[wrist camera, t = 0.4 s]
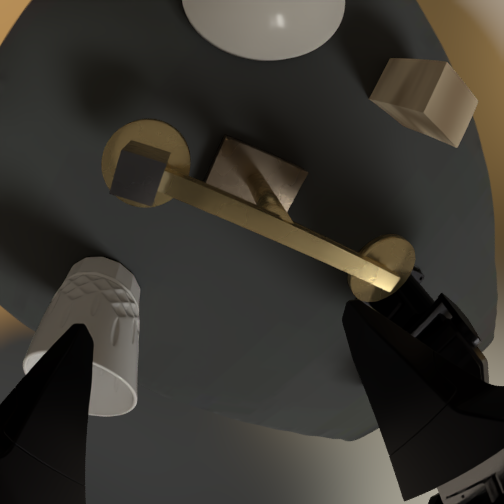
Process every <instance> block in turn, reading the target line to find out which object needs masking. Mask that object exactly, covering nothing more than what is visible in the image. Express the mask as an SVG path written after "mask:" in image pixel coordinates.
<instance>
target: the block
mask: <svg viewBox="0 0 504 504" xmlns="http://www.w3.org/2000/svg"><path fill="white" fill-rule="evenodd" d="M369 100H371V101H372V102H373V103H375V104H376V105H378V106H379V107H380V108H381V109H383V110H384V111H385V112H387V113H388V114H389V115H390V116H392V117H393V118H394V119H396V120H397V121H398V122H399V123H400V124H402V125H403V126H404V127H407V128H410V129H412V130H415V131H418V132H420V133H423V134H425V135H428V136H430V137H433V138H435V139H437V140H440V141H442V142H445V143H447V144H449V145H451V146H454V147H456V148H457V147H458V145H459V143H460V141H461V139H462V137H463V135H464V133H465V131H466V129H467V126H468V124H469V122H470V120H471V118H472V115H473V113H474V111H475V108H476V106H477V103H478V100H477V99H476V97H475V96H474V95H473V93H472V92H471V91H470V89H469V88H468V87H467V85H466V84H465V83H464V82H463V80H462V79H461V78H460V77H459V75H458V74H457V73H456V72H455V71H454V69H453V68H452V67H451V66H450V65H449V64H448V62H444V61H434V60H422V59H404V58H390V59H389V61H388V63H387V65H386V67H385V69H384V71H383V73H382V75H381V77H380V79H379V81H378V83H377V84H376V86H375V88H374V90H373V92H372V94H371V96H370V98H369Z"/></svg>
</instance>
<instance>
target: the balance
mask: <svg viewBox="0 0 504 504" xmlns="http://www.w3.org/2000/svg"><path fill="white" fill-rule="evenodd" d="M189 171H190V151H189V147H188V145H187V142H186V140H185V139H184V137H183V136H182V134H181V133H180V132H179V131H178V130H177V129H176V128H175V127H173V126H172V125H170V124H168V123H166V122H164V121H161V120H157V119H139V120H136V121H133V122H130V123H128V124H126V125H125V126H123V127H122V128H120V129H119V130H118V131H117V132H115V133H114V134H113V136H112V137H111V138H110V139H109V141H108V142H107V144H106V146H105V149H104V152H103V156H102V173H103V177H104V180H105V182H106V184H107V186H108V188H109V189H110V193H109V194H112V195H115V196H116V197H117V198H119V199H120V200H121V201H123V202H125V203H127V204H130V205H132V206H136V207H154V206H158V205H161V204H164V203H166V202H168V201H169V200H171V199H172V198H175V199H178V200H180V201H182V202H185V203H187V204H190V205H192V206H194V207H197V208H199V209H202V210H204V211H206V212H209V213H211V214H214V215H216V216H218V217H221V218H223V219H225V220H228V221H230V222H232V223H235V224H237V225H239V226H242V227H244V228H247V229H249V230H251V231H253V232H256V233H258V234H260V235H263V236H265V237H267V238H270V239H272V240H274V241H277V242H279V243H281V244H283V245H286V246H288V247H290V248H293V249H295V250H297V251H299V252H302V253H304V254H306V255H309V256H311V257H313V258H315V259H318V260H320V261H322V262H324V263H327V264H329V265H331V266H333V267H335V268H338V269H340V270H342V271H344V272H347V273H348V275H347V281H348V285H349V287H350V289H351V290H352V292H353V294H354V295H355V296H356V297H357V298H358V299H359V300H361V301H365V302H375V301H379V300H382V299H384V298H386V297H388V296H390V295H391V294H393V293H394V292H396V291H397V290H398V289H399V288H400V287H401V286H402V285H403V284H404V283H405V282H406V280H407V279H408V277H409V276H410V274H411V272H412V270H413V267H414V263H415V251H414V249H413V247H412V245H411V244H410V243H409V242H408V241H407V240H406V239H405V238H403V237H402V236H400V235H397V234H386V235H382V236H379V237H377V238H375V239H373V240H372V241H370V242H369V243H367V244H366V245H365V246H364V247H363V248H362V249H361V250H360V251H359V252H356V251H354V250H352V249H350V248H348V247H346V246H344V245H342V244H339V243H337V242H335V241H333V240H331V239H329V238H327V237H325V236H323V235H321V234H319V233H317V232H315V231H312V230H310V229H308V228H306V227H304V226H302V225H300V224H298V223H295V222H293V221H292V219H291V218H290V216H289V215H288V213H287V211H288V209H289V207H290V205H291V204H292V202H293V200H294V198H295V196H296V194H297V193H298V191H299V189H300V187H301V185H302V183H303V182H304V180H305V178H306V176H307V174H308V172H307V171H306V170H305V169H304V168H302V167H300V166H297V165H295V164H293V163H291V162H289V161H287V160H284V159H282V158H280V157H278V156H276V155H273V154H271V153H269V152H266V151H264V150H262V149H259V148H257V147H255V146H252V145H250V144H247V143H245V142H243V141H240V140H238V139H235V138H233V137H230V136H228V135H224V137H223V139H222V141H221V143H220V146H219V148H218V150H217V152H216V155H215V157H214V159H213V161H212V164H211V166H210V168H209V171H208V173H207V175H206V178H205V180H204V182H202V181H200V180H198V179H195V178H193V177H190V176H188V175H189Z"/></svg>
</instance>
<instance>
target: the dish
mask: <svg viewBox="0 0 504 504" xmlns="http://www.w3.org/2000/svg"><path fill="white" fill-rule="evenodd" d="M182 3H183V8H184V11H185V14H186V16H187V18H188V20H189V22H190V24H191V25H192V27H193V28H194V29H195V31H196V32H197V33H198V34H199V35H200V36H201V37H202V38H203V39H205V40H206V41H207V42H209V43H210V44H211V45H213V46H215V47H216V48H218V49H219V50H222V51H224V52H226V53H228V54H231V55H234V56H237V57H240V58H245V59H249V60H257V61H276V60H283V59H288V58H293V57H297V56H300V55H304V54H306V53H309V52H311V51H313V50H315V49H317V48H318V47H320V46H321V45H323V44H324V43H325V42H326V41H328V40H329V39H330V38H331V36H332V35H333V34H334V33H335V32H336V30H337V29H338V27H339V25H340V23H341V21H342V18H343V14H344V9H345V0H182Z"/></svg>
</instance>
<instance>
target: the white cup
mask: <svg viewBox="0 0 504 504" xmlns="http://www.w3.org/2000/svg"><path fill="white" fill-rule="evenodd" d="M139 304H140V287H139V285H138V283H137V281H136V279H135V277H134V275H133V274H132V273H131V272H130V271H129V270H127V269H126V268H125V267H124V266H123V265H122V264H120V263H119V262H116V261H113V260H110V259H108V258H105V257H86V258H84V259H82V260H81V261H79V262H77V263H76V264H74V265H73V266H72V268H71V270H70V271H69V273H68V275H67V277H66V279H65V280H64V282H63V284H62V285H61V287H60V288H59V289H58V290H57V292H56V294H55V295H54V297H53V299H52V301H51V302H50V305H49V306H48V308H47V310H46V311H45V313H44V315H43V318H42V320H41V322H40V324H39V326H38V328H37V330H36V333H35V335H34V337H33V339H32V342H31V344H30V346H29V349H28V351H27V354H26V356H25V358H24V361H23V370H24V373H25V375H26V374H27V373H28V372H29V371H30V369H31V368H32V367H33V366H34V365H35V364H36V363H37V362H38V361H39V359H40V358H41V357H42V356H43V355H44V354H45V353H46V352H47V351H48V350H49V349H50V347H51V346H52V345H53V344H54V343H55V342H56V341H57V340H58V339H59V338H60V337H61V336H62V335H63V334H64V333H65V332H66V331H67V330H68V329H69V328H70V327H71V326H72V325H73V324H75V323H83V324H85V325H86V327H87V329H88V331H89V333H90V335H91V337H92V339H93V342H94V351H93V369H92V386H91V395H90V403H89V412H88V414H89V415H95V416H116V415H122V414H125V413H127V412H129V411H131V410H132V409H133V408H134V407H135V406H136V404H137V372H138V352H139V342H138V340H139V322H140V318H139Z"/></svg>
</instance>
